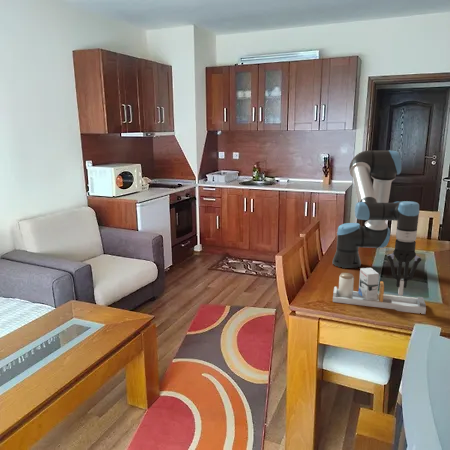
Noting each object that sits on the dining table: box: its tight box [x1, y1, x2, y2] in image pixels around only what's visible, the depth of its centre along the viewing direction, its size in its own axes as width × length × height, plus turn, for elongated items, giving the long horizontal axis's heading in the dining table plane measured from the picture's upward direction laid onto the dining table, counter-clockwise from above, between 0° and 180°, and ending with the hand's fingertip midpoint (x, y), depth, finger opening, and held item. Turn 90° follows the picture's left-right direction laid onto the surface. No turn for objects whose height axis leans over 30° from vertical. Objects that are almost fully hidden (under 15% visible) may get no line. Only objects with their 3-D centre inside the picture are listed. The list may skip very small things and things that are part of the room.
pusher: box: [378, 281, 392, 303], centre depth 167 cm, size 7×5×8 cm
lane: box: [332, 286, 427, 315], centre depth 168 cm, size 10×36×4 cm, turn 72°
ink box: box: [358, 267, 380, 301], centre depth 168 cm, size 8×5×12 cm, turn 5°
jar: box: [338, 272, 355, 299], centre depth 172 cm, size 6×6×11 cm
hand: (400, 294), depth 165 cm, fingers closed
